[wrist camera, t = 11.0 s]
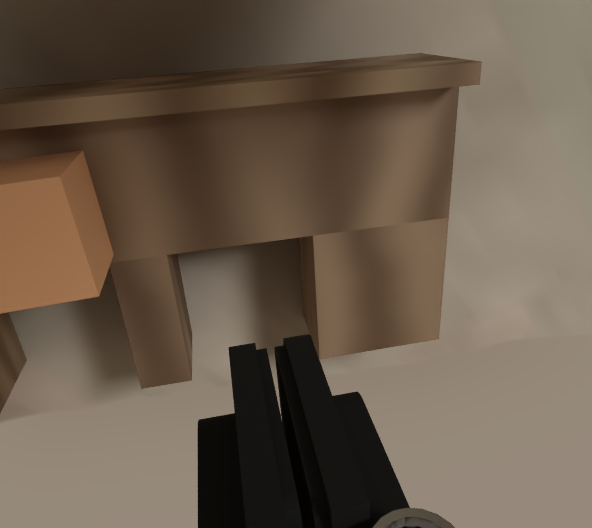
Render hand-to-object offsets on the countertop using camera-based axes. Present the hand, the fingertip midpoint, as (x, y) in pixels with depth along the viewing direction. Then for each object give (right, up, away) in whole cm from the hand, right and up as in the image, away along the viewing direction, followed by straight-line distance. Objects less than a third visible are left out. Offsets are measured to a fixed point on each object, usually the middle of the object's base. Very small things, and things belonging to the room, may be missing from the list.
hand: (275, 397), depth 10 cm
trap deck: (-5, +6, +21) cm, 22 cm away
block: (-13, +5, +14) cm, 20 cm away
